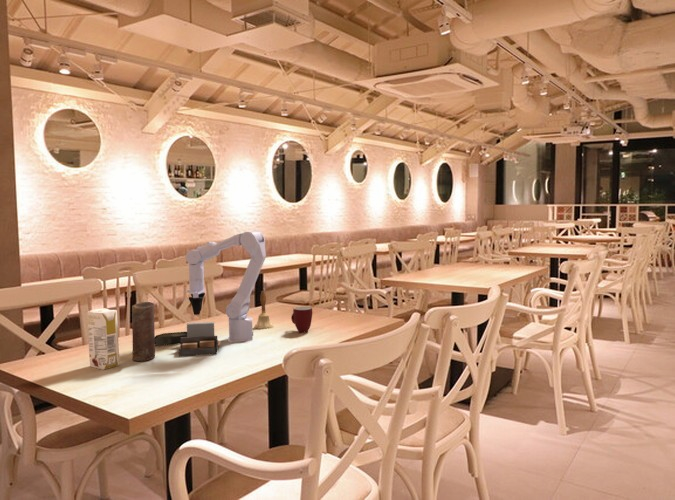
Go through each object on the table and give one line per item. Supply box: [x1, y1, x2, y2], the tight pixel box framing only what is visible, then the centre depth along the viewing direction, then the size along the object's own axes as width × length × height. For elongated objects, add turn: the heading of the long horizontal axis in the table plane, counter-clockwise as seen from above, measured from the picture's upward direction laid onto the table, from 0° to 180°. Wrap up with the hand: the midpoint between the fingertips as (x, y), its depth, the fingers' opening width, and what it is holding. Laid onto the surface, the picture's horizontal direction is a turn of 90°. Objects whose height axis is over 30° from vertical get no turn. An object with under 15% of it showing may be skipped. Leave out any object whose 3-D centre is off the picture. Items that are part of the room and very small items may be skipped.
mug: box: [291, 305, 313, 334], centre depth 226 cm, size 11×8×10 cm
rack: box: [178, 335, 219, 357], centre depth 194 cm, size 13×11×6 cm
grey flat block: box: [186, 321, 216, 337], centre depth 204 cm, size 10×2×8 cm, turn 100°
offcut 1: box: [182, 343, 197, 349], centre depth 191 cm, size 5×2×4 cm, turn 100°
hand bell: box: [253, 290, 274, 330], centre depth 235 cm, size 8×8×16 cm
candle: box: [131, 301, 156, 363], centre depth 184 cm, size 8×7×20 cm
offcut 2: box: [200, 340, 214, 348], centre depth 192 cm, size 5×2×4 cm, turn 100°
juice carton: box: [87, 307, 120, 371], centre depth 178 cm, size 8×9×19 cm
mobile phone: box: [155, 331, 187, 348], centre depth 205 cm, size 5×3×15 cm
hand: (197, 312), depth 215 cm, fingers open, 7 cm apart
